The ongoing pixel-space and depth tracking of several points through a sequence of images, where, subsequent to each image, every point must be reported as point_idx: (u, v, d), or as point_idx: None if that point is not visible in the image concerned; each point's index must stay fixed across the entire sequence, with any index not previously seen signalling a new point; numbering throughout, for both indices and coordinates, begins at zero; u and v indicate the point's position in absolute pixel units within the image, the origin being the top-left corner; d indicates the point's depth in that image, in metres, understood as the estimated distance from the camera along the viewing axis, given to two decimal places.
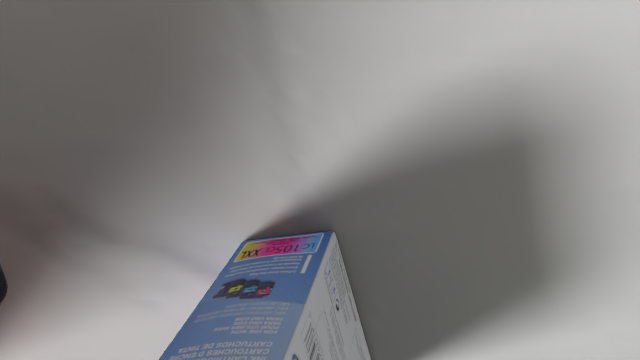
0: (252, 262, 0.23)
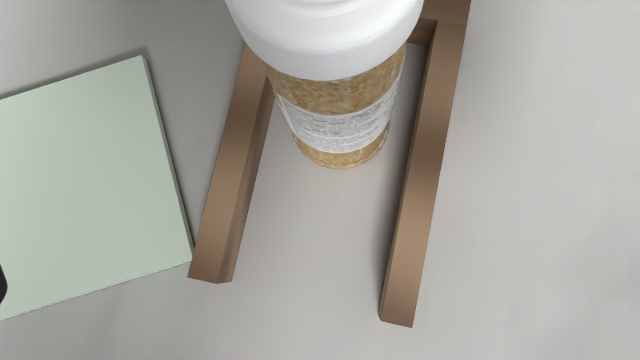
0: None
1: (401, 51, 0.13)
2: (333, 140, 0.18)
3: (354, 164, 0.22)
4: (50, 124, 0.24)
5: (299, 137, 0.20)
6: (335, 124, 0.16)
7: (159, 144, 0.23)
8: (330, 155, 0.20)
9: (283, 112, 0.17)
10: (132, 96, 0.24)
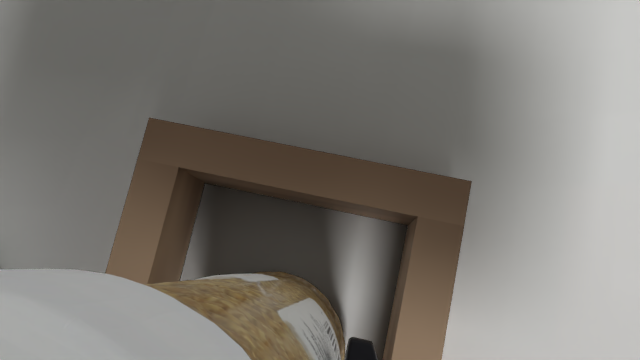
0: None
1: None
2: None
3: None
4: None
5: None
6: None
7: None
8: None
9: None
10: None
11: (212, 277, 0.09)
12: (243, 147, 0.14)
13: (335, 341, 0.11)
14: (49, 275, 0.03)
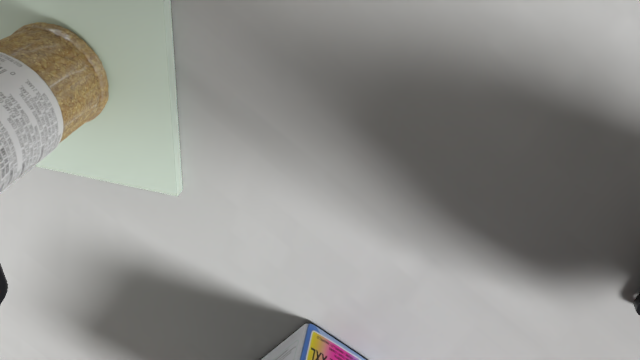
0: None
1: None
2: (24, 140, 0.17)
3: (95, 67, 0.20)
4: None
5: (53, 148, 0.19)
6: None
7: None
8: (73, 110, 0.19)
9: None
10: None
11: None
12: None
13: None
14: None
